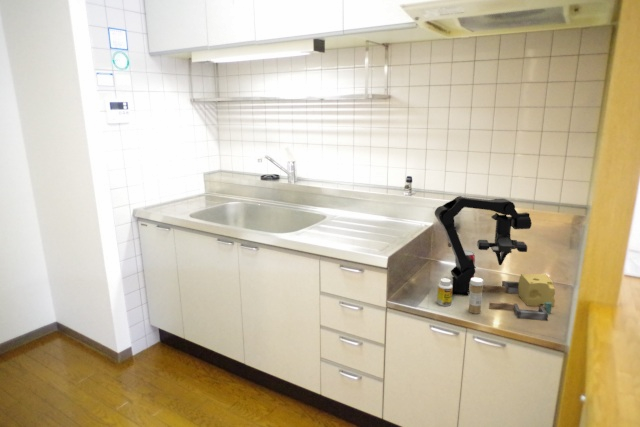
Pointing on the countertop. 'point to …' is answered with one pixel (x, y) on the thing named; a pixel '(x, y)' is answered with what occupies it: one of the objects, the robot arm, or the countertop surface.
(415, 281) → the countertop surface
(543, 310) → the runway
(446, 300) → the supplement bottle
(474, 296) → the sprinkles bottle
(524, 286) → the cheese
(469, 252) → the soda can
